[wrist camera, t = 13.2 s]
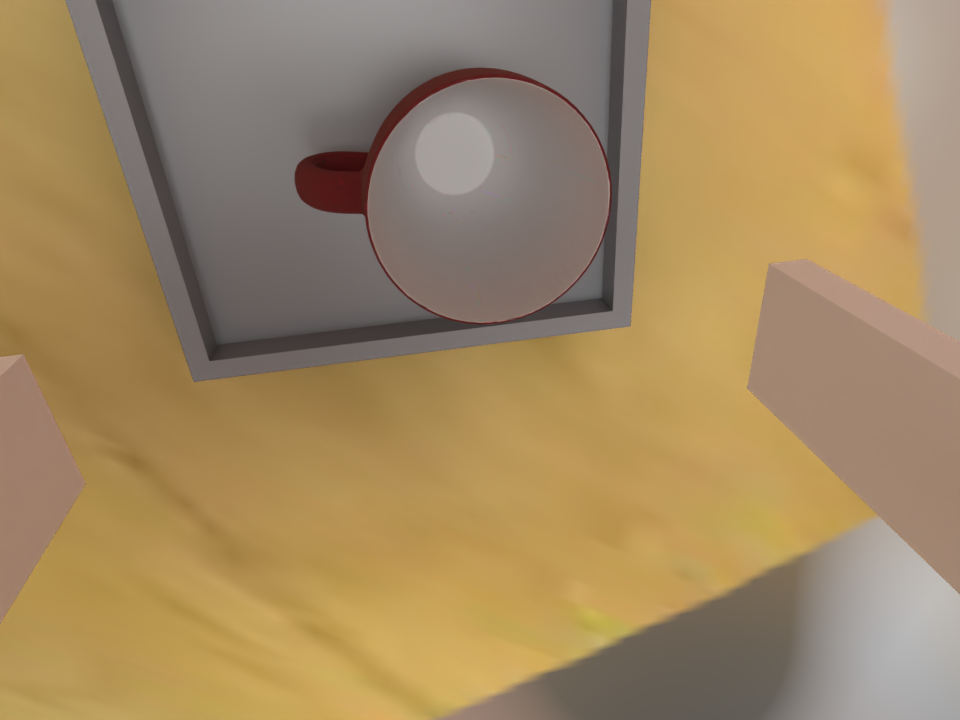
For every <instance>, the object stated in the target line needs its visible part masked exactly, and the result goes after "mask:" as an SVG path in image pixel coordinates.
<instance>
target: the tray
mask: <svg viewBox="0 0 960 720" xmlns="http://www.w3.org/2000/svg"><path fill="white" fill-rule="evenodd" d="M65 1H66V4H67V7H68V10H69V12H70V15H71V18H72V21H73V24H74V27H75V30H76V33H77V36H78V39H79V42H80V45H81V48H82V51H83V54H84V57H85V60H86V63H87V66H88V69H89V72H90V75H91V78H92V81H93V84H94V87H95V90H96V93H97V96H98V99H99V102H100V105H101V108H102V111H103V114H104V117H105V120H106V123H107V126H108V128H109V131H110V134H111V137H112V140H113V143H114V146H115V149H116V152H117V155H118V158H119V161H120V164H121V167H122V170H123V173H124V176H125V179H126V182H127V185H128V188H129V191H130V194H131V197H132V200H133V203H134V206H135V209H136V212H137V215H138V218H139V221H140V224H141V227H142V230H143V233H144V236H145V239H146V241H147V244H148V247H149V250H150V253H151V256H152V259H153V262H154V265H155V268H156V271H157V274H158V277H159V280H160V283H161V286H162V289H163V292H164V295H165V298H166V301H167V304H168V307H169V310H170V313H171V316H172V319H173V322H174V325H175V328H176V331H177V334H178V337H179V340H180V343H181V346H182V349H183V352H184V355H185V357H186V360H187V363H188V366H189V369H190V372H191V375H192V378H193V381H194V382H197V381H205V380H213V379H221V378H228V377H236V376H244V375H252V374H260V373H268V372H276V371H283V370H291V369H299V368H307V367H315V366H323V365H330V364H338V363H346V362H354V361H362V360H370V359H378V358H385V357H393V356H401V355H409V354H417V353H425V352H432V351H440V350H448V349H456V348H464V347H472V346H480V345H487V344H495V343H503V342H511V341H519V340H527V339H534V338H542V337H550V336H558V335H566V334H574V333H582V332H589V331H597V330H605V329H613V328H621V327H629V326H631V312H632V296H633V280H634V264H635V248H636V232H637V216H638V200H639V184H640V168H641V152H642V136H643V120H644V104H645V88H646V72H647V56H648V40H649V24H650V8H651V0H65ZM466 68H496V69H502V70H508V71H511V72H515V73H518V74H521V75H524V76H526V77H529V78H531V79H534V80H536V81H538V82H540V83H542V84H544V85H546V86H548V87H550V88H551V89H553V90H555V91H557V92H558V93H560V94H561V95H562V96H564V97H565V98H567V99H568V100H569V101H570V102H571V103H572V104H573V105H575V106H576V107H577V108H578V110H579V111H580V112H581V113H582V114H583V115H584V116H585V117H586V119H587V120H588V122H589V123H590V124H591V126H592V127H593V129H594V130H595V132H596V134H597V136H598V137H599V140H600V142H601V144H602V146H603V148H604V151H605V154H606V157H607V161H608V165H609V169H610V176H611V183H612V201H611V211H610V218H609V222H608V226H607V230H606V233H605V236H604V239H603V241H602V244H601V246H600V248H599V250H598V252H597V254H596V256H595V258H594V260H593V261H592V263H591V264H590V266H589V267H588V269H587V270H586V272H585V273H584V274H583V275H582V277H581V278H580V279H579V280H578V281H577V282H576V283H575V284H574V286H573V287H572V288H571V289H570V290H568V291H567V292H566V293H565V294H564V295H563V296H561V297H560V298H559V299H557V300H556V301H555V302H553V303H552V304H550V305H548V306H547V307H545V308H543V309H541V310H539V311H537V312H535V313H533V314H531V315H528V316H526V317H523V318H520V319H517V320H513V321H509V322H504V323H497V324H467V323H461V322H456V321H452V320H448V319H445V318H442V317H440V316H437V315H435V314H433V313H431V312H428V311H426V310H425V309H423V308H421V307H420V306H418V305H416V304H415V303H414V302H412V301H411V300H410V299H408V298H407V297H406V296H405V295H404V294H403V293H402V292H401V291H399V290H398V288H397V287H396V286H395V285H394V284H393V283H392V282H391V280H390V279H389V278H388V276H387V275H386V274H385V272H384V270H383V269H382V267H381V265H380V264H379V262H378V260H377V258H376V255H375V253H374V251H373V249H372V246H371V243H370V240H369V236H368V232H367V227H366V220H365V216H364V215H363V214H341V213H331V212H325V211H321V210H318V209H315V208H312V207H310V206H309V205H307V204H306V203H305V202H303V201H302V200H301V199H300V197H299V195H298V193H297V190H296V186H295V170H296V167H297V165H298V164H299V162H300V161H301V160H303V159H304V158H306V157H308V156H311V155H315V154H319V153H325V152H335V151H352V152H369V150H370V148H371V145H372V143H373V141H374V138H375V136H376V134H377V132H378V130H379V128H380V126H381V125H382V123H383V122H384V120H385V119H386V117H387V116H388V114H389V113H390V112H391V111H392V109H393V108H394V107H395V106H396V105H397V104H398V103H399V102H400V101H401V100H402V99H403V98H404V97H405V96H406V95H407V94H409V93H410V92H411V91H412V90H414V89H415V88H417V87H418V86H420V85H421V84H423V83H425V82H427V81H428V80H430V79H432V78H434V77H437V76H439V75H442V74H444V73H448V72H451V71H455V70H460V69H466Z"/></svg>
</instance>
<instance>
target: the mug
mask: <svg viewBox="0 0 960 720" xmlns="http://www.w3.org/2000/svg"><path fill="white" fill-rule="evenodd" d="M295 186H296V190H297V193H298V195H299V197H300V199H301V200H302V201H303V202H305V203H306V204H307V205H309V206H310V207H312V208H315V209H318V210H321V211H325V212H331V213H341V214H363V215H364V216H365V220H366V227H367V232H368V236H369V240H370V243H371V246H372V249H373V251H374V253H375V255H376V258H377V260H378V262H379V264H380V265H381V267H382V269H383V270H384V272H385V274H386V275H387V276H388V278H389V279H390V280H391V282H392V283H393V284H394V285H395V286H396V287H397V288H398V290H399V291H401V292H402V293H403V294H404V295H405V296H406V297H407V298H408V299H410V300H411V301H412V302H414V303H415V304H416V305H418V306H420V307H421V308H423V309H425V310H426V311H428V312H431V313H433V314H435V315H437V316H440V317H442V318H445V319H448V320H452V321H456V322H461V323H467V324H497V323H504V322H509V321H513V320H517V319H520V318H523V317H526V316H528V315H531V314H533V313H535V312H537V311H539V310H541V309H543V308H545V307H547V306H548V305H550V304H552V303H553V302H555V301H556V300H557V299H559V298H560V297H561V296H563V295H564V294H565V293H566V292H567V291H568V290H570V289H571V288H572V287H573V286H574V284H575V283H576V282H577V281H578V280H579V279H580V278H581V277H582V275H583V274H584V273H585V272H586V270H587V269H588V267H589V266H590V264H591V263H592V261H593V260H594V258H595V256H596V254H597V252H598V250H599V248H600V246H601V244H602V241H603V239H604V236H605V233H606V230H607V226H608V222H609V218H610V211H611V201H612V183H611V176H610V169H609V165H608V161H607V157H606V154H605V151H604V148H603V146H602V144H601V142H600V140H599V137H598V136H597V134H596V132H595V130H594V129H593V127H592V126H591V124H590V123H589V122H588V120H587V119H586V117H585V116H584V115H583V114H582V113H581V112H580V111H579V110H578V108H577V107H576V106H575V105H573V104H572V103H571V102H570V101H569V100H568V99H567V98H565V97H564V96H562V95H561V94H560V93H558V92H557V91H555V90H553V89H551V88H550V87H548V86H546V85H544V84H542V83H540V82H538V81H536V80H534V79H531V78H529V77H526V76H524V75H521V74H518V73H515V72H511V71H508V70H502V69H496V68H466V69H460V70H455V71H451V72H448V73H444V74H442V75H439V76H437V77H434V78H432V79H430V80H428V81H427V82H425V83H423V84H421V85H420V86H418V87H417V88H415V89H414V90H412V91H411V92H410V93H409V94H407V95H406V96H405V97H404V98H403V99H402V100H401V101H400V102H399V103H398V104H397V105H396V106H395V107H394V108H393V109H392V111H391V112H390V113H389V114H388V116H387V117H386V119H385V120H384V122H383V123H382V125H381V126H380V128H379V130H378V132H377V134H376V136H375V138H374V141H373V143H372V145H371V148H370V150H369V152H352V151H335V152H325V153H319V154H315V155H311V156H308V157H306V158H304V159H303V160H301V161H300V162H299V164H298V165H297V167H296V170H295Z"/></svg>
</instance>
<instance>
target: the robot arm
mask: <svg viewBox="0 0 960 720" xmlns="http://www.w3.org/2000/svg"><path fill="white" fill-rule="evenodd" d="M747 389H748V390H749V391H750V392H751V393H752V394H753V395H754V396H755V397H756V398H757V399H759V400H760V401H761V402H762V403H763V404H764V405H765V406H766V407H767V408H768V409H769V410H770V411H771V412H772V413H773V414H774V415H775V416H776V417H777V418H778V419H779V420H780V421H781V422H782V423H783V424H784V425H785V426H786V427H787V428H788V429H790V430H791V431H792V432H793V433H794V434H795V435H796V436H797V437H798V438H799V439H800V440H801V441H802V442H803V443H804V444H805V445H806V446H807V447H808V448H809V449H810V450H811V451H812V452H813V453H814V454H815V455H816V456H817V457H818V458H819V459H821V460H822V461H823V462H824V463H825V464H826V465H827V466H828V467H829V468H830V469H831V470H832V471H833V472H834V473H835V474H836V475H837V476H838V477H839V478H840V479H841V480H842V481H843V482H844V483H845V484H846V485H847V486H848V487H849V488H850V489H852V490H853V491H854V492H855V493H856V494H857V495H858V496H859V497H860V498H861V499H862V500H863V501H864V502H865V503H866V504H867V505H868V506H869V507H870V508H871V509H872V510H873V511H874V512H875V513H876V514H877V515H878V516H879V517H880V518H881V519H883V520H884V521H885V522H886V523H887V524H888V525H889V526H890V527H891V528H892V529H893V530H894V531H895V532H896V533H897V534H898V535H899V536H900V537H901V538H902V539H903V540H904V541H905V542H906V543H907V544H908V545H909V546H910V547H911V548H913V549H914V550H915V551H916V552H917V553H918V554H919V555H920V556H921V557H922V558H923V559H924V560H925V561H926V562H927V563H928V564H929V565H930V566H931V567H932V568H933V569H934V570H935V571H936V572H937V573H938V574H939V575H940V576H941V577H942V578H943V579H945V580H946V581H947V582H948V583H949V584H950V585H951V586H952V587H953V588H954V589H955V590H956V591H957V592H958V593H959V594H960V342H959V341H957V340H955V339H954V338H952V337H950V336H948V335H946V334H944V333H942V332H941V331H939V330H937V329H935V328H933V327H931V326H930V325H928V324H926V323H924V322H922V321H920V320H919V319H917V318H915V317H913V316H911V315H909V314H907V313H906V312H904V311H902V310H900V309H898V308H896V307H895V306H893V305H891V304H889V303H887V302H885V301H883V300H882V299H880V298H878V297H876V296H874V295H872V294H870V293H869V292H867V291H865V290H863V289H861V288H859V287H858V286H856V285H854V284H852V283H850V282H848V281H846V280H845V279H843V278H841V277H839V276H837V275H835V274H834V273H832V272H830V271H828V270H826V269H824V268H822V267H821V266H819V265H817V264H815V263H813V262H811V261H809V260H808V259H804V260H795V261H787V262H779V263H771V264H769V266H768V272H767V278H766V283H765V289H764V295H763V301H762V306H761V312H760V318H759V324H758V329H757V335H756V341H755V347H754V352H753V358H752V364H751V370H750V375H749V381H748V387H747ZM85 484H86V483H85V481H84V479H83V477H82V475H81V473H80V471H79V469H78V467H77V465H76V463H75V461H74V458H73V456H72V454H71V452H70V450H69V448H68V446H67V444H66V442H65V440H64V438H63V436H62V434H61V431H60V429H59V427H58V425H57V423H56V421H55V419H54V417H53V415H52V413H51V411H50V409H49V406H48V404H47V402H46V400H45V398H44V396H43V394H42V392H41V390H40V388H39V386H38V384H37V381H36V379H35V377H34V375H33V373H32V371H31V369H30V367H29V365H28V363H27V361H26V359H25V357H24V354H21V355H13V356H4V357H0V623H1V622H2V620H3V618H4V617H5V615H6V613H7V612H8V610H9V608H10V607H11V605H12V604H13V602H14V600H15V599H16V597H17V595H18V594H19V592H20V590H21V589H22V587H23V585H24V584H25V582H26V581H27V579H28V577H29V576H30V574H31V572H32V571H33V569H34V567H35V566H36V564H37V563H38V561H39V559H40V558H41V556H42V554H43V553H44V551H45V549H46V548H47V546H48V545H49V543H50V541H51V540H52V538H53V536H54V535H55V533H56V531H57V530H58V528H59V527H60V525H61V523H62V522H63V520H64V518H65V517H66V515H67V513H68V512H69V510H70V509H71V507H72V505H73V504H74V502H75V500H76V499H77V497H78V495H79V494H80V492H81V491H82V489H83V487H84V486H85Z"/></svg>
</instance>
